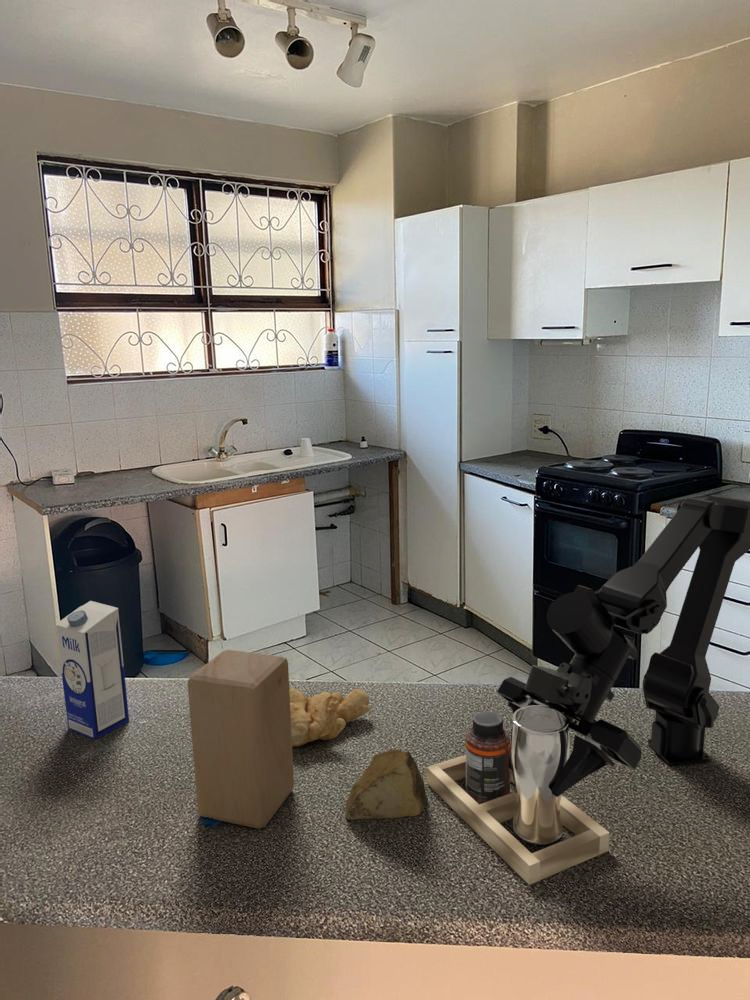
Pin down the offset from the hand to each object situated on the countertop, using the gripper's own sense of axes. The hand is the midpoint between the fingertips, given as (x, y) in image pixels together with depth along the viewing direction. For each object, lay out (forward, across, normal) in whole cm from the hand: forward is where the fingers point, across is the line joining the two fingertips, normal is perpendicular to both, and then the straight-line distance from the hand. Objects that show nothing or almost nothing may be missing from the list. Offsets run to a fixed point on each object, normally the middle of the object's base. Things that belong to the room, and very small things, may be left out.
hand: (531, 781), depth 90 cm
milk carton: (+30, -63, -18) cm, 72 cm away
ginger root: (+11, -39, +1) cm, 41 cm away
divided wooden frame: (+4, -5, +7) cm, 10 cm away
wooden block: (+23, -29, -11) cm, 38 cm away
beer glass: (+4, 0, +6) cm, 7 cm away
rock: (+13, -16, -1) cm, 21 cm away
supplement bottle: (+4, -10, +8) cm, 14 cm away
